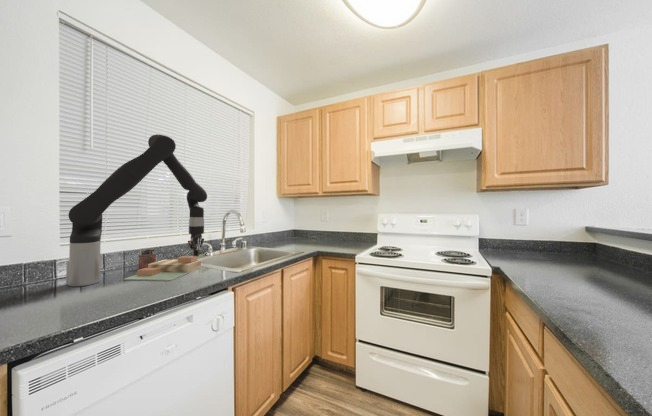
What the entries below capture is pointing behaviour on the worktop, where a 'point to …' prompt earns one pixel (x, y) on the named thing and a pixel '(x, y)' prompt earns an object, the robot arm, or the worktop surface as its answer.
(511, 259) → the worktop surface
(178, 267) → the wooden tray
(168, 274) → the mat
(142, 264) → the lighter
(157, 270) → the tile
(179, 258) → the tile
